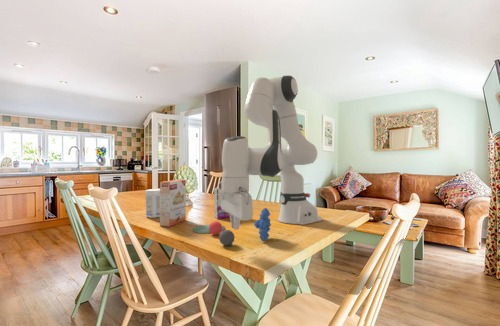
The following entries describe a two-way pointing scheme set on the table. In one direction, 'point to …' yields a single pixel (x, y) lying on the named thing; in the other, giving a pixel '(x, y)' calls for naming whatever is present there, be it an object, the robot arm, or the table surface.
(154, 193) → the supplement tub
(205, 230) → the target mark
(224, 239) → the ball
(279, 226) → the table surface
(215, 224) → the ball
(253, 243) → the table surface
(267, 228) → the grapes
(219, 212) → the candy bar box
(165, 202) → the cracker box
